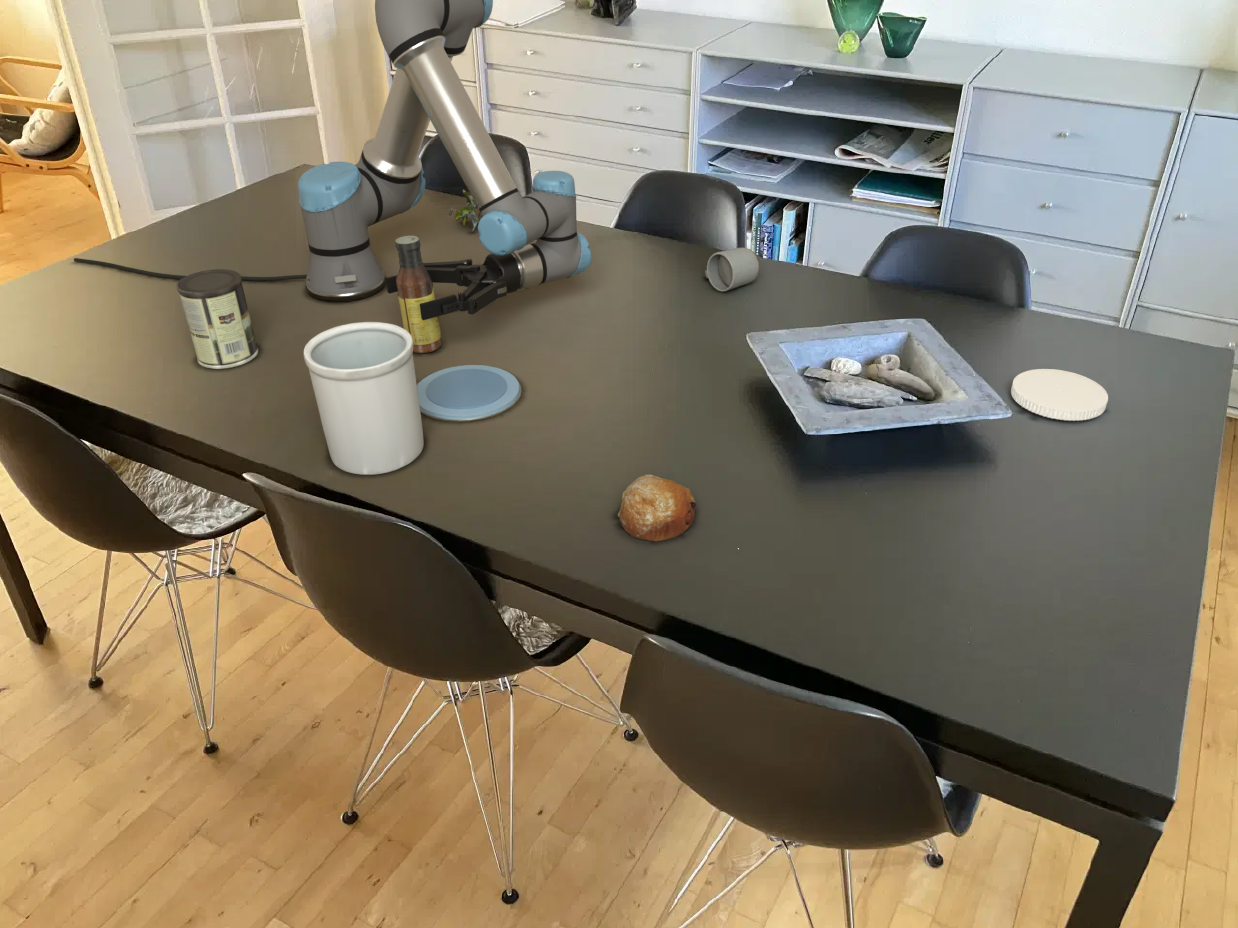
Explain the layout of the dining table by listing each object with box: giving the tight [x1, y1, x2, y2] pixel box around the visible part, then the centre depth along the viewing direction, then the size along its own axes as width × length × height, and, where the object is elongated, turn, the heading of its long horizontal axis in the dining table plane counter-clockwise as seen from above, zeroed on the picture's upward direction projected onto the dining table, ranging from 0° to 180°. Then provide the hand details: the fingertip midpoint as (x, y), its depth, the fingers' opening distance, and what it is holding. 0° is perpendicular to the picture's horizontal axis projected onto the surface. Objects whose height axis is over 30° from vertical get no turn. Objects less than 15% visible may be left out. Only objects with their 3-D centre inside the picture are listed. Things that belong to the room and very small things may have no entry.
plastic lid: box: [1010, 368, 1109, 422], centre depth 156 cm, size 14×14×2 cm
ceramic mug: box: [704, 247, 760, 293], centre depth 196 cm, size 11×8×8 cm
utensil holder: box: [303, 321, 425, 476], centre depth 142 cm, size 15×15×18 cm
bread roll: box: [617, 473, 697, 542], centre depth 130 cm, size 10×10×8 cm
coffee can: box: [175, 268, 259, 370], centre depth 169 cm, size 10×10×14 cm
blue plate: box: [417, 364, 523, 423], centre depth 160 cm, size 18×18×1 cm
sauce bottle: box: [394, 235, 442, 354], centre depth 170 cm, size 6×6×20 cm
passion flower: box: [448, 189, 483, 234], centre depth 224 cm, size 11×11×12 cm
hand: (403, 298), depth 168 cm, fingers open, 13 cm apart
